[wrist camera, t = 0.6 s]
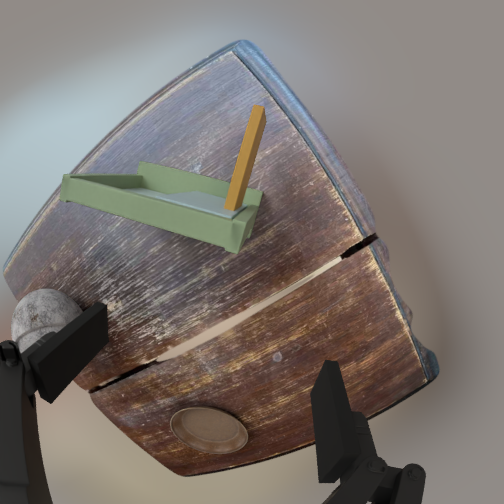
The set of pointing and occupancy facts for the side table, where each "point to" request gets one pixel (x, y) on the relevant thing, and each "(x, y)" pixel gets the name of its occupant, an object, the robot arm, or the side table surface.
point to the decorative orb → (41, 315)
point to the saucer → (209, 429)
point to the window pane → (239, 179)
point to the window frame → (164, 202)
